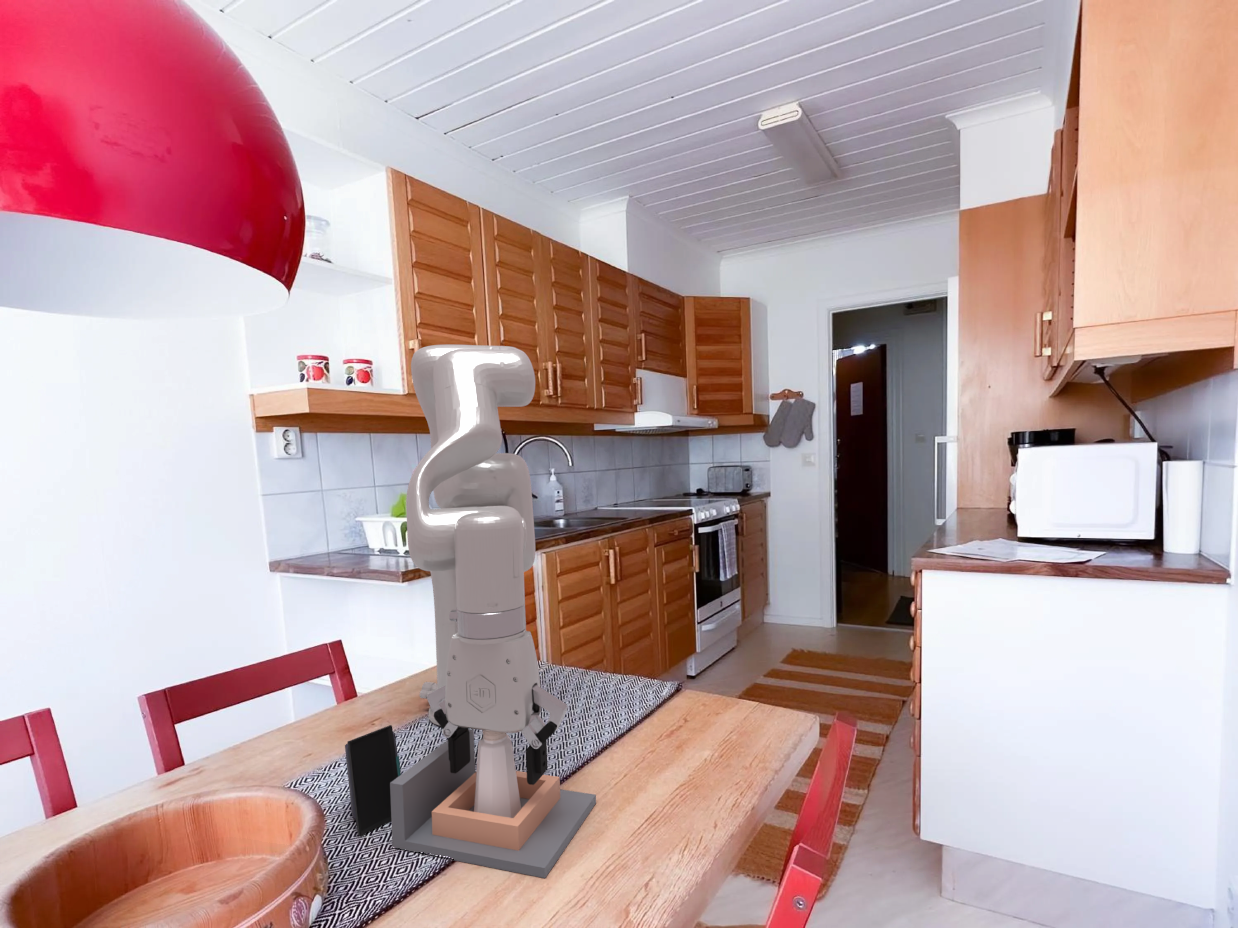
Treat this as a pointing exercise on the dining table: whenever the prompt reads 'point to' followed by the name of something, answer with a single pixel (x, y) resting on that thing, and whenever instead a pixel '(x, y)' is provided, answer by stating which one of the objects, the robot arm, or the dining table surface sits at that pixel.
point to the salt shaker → (496, 776)
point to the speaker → (372, 777)
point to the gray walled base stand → (483, 817)
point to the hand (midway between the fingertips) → (497, 772)
